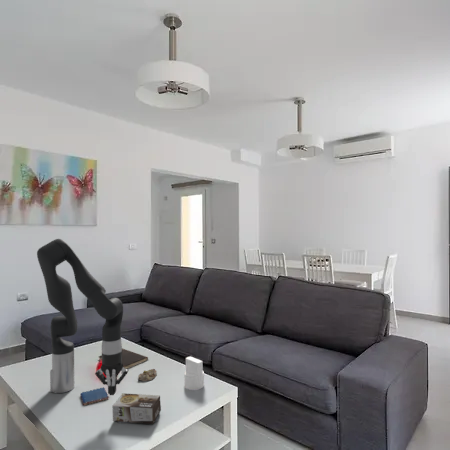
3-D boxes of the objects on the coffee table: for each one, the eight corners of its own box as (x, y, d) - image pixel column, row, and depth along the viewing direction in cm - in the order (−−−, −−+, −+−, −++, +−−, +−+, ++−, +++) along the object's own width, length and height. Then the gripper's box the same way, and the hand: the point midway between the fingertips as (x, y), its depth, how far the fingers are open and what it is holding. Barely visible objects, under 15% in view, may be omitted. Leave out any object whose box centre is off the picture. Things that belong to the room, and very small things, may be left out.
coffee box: (112, 421, 129) (153, 425, 127) (111, 405, 129) (152, 408, 126) (123, 407, 138) (161, 410, 136) (122, 392, 138) (160, 395, 135)
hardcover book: (124, 371, 176) (124, 366, 176) (98, 360, 189) (98, 356, 189) (148, 360, 188) (148, 356, 188) (122, 351, 202) (122, 347, 202)
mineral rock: (146, 379, 160) (135, 370, 165) (144, 387, 161) (133, 379, 165) (162, 371, 169) (151, 363, 174) (160, 379, 170) (149, 371, 174)
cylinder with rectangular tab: (180, 385, 158) (180, 360, 158) (194, 379, 165) (194, 354, 165) (193, 392, 152) (193, 365, 152) (207, 385, 159) (207, 359, 159)
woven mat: (109, 400, 146) (109, 395, 146) (83, 407, 141) (83, 402, 141) (105, 390, 155) (105, 385, 155) (80, 396, 150) (79, 391, 150)
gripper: (91, 354, 129) (91, 399, 129) (126, 353, 130) (126, 398, 130) (97, 347, 137) (98, 390, 137) (131, 346, 137) (131, 389, 137)
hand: (112, 394), depth 133 cm, fingers closed
